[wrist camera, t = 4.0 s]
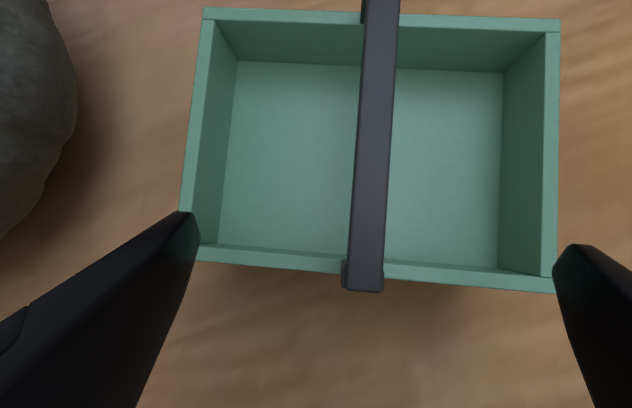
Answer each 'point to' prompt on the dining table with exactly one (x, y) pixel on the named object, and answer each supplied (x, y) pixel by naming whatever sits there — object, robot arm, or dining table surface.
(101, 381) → the robot arm
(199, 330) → the dining table surface
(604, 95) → the dining table surface
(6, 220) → the gourd
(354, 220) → the sage basket
